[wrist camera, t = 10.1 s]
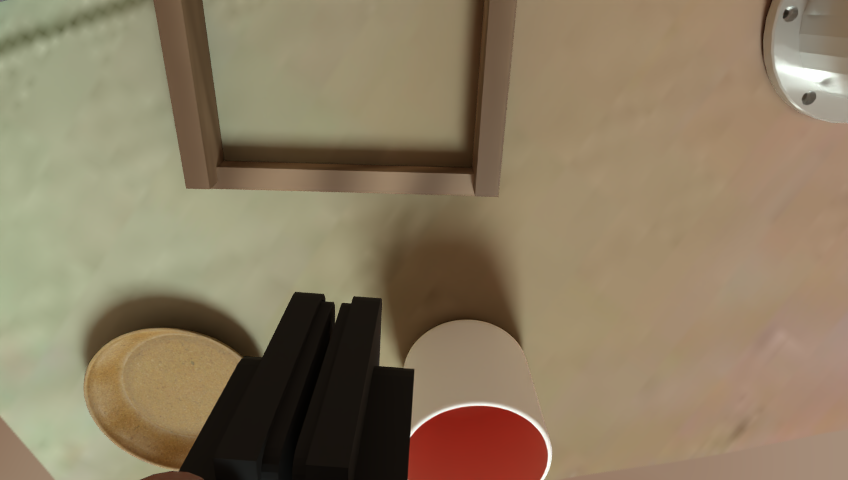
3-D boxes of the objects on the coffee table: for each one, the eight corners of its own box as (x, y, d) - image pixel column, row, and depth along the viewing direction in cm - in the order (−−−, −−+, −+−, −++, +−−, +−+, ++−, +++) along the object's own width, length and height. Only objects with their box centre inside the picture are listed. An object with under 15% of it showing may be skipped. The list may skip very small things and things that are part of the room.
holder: (511, -28, 30) (519, -31, 28) (491, 188, 36) (497, 204, 33) (171, -39, 30) (146, -44, 27) (205, 181, 36) (187, 195, 33)
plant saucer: (78, 312, 41) (57, 331, 38) (264, 307, 40) (254, 326, 38) (128, 450, 47) (112, 474, 44) (289, 446, 47) (282, 470, 44)
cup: (384, 336, 41) (373, 430, 32) (502, 295, 40) (525, 381, 31) (430, 423, 45) (432, 528, 36) (539, 389, 44) (570, 490, 34)
